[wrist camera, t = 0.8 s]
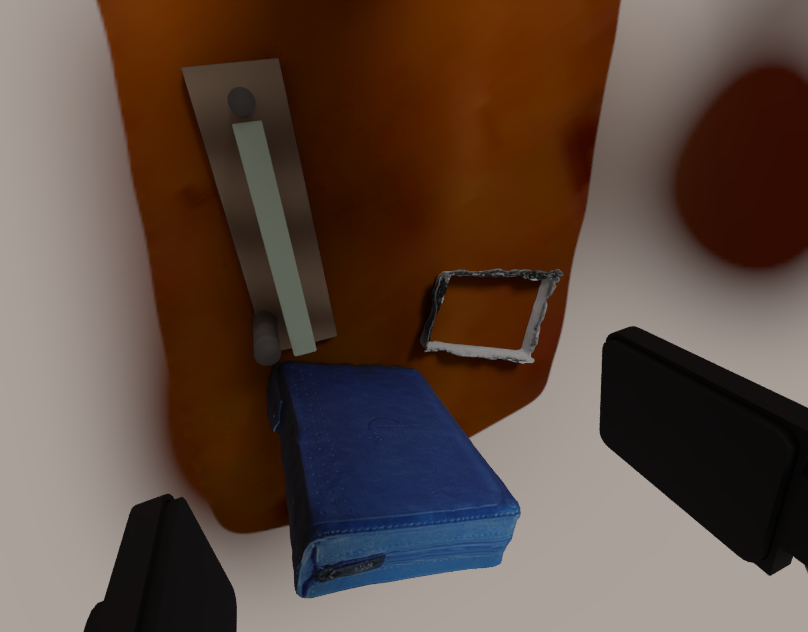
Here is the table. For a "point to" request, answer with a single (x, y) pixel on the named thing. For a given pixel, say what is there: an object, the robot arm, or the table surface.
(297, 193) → the gate frame
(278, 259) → the panel
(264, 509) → the table surface
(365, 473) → the book
